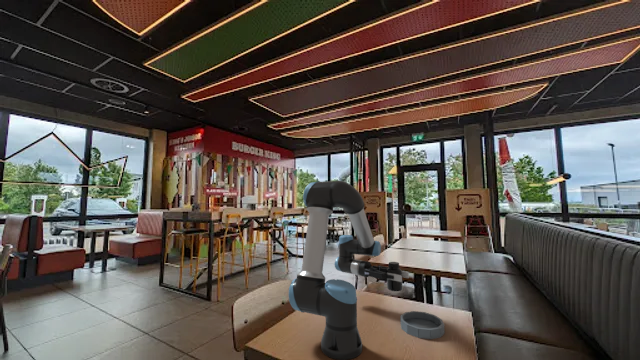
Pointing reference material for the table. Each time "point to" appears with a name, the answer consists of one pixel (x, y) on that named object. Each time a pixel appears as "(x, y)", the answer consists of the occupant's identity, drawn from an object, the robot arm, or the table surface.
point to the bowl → (422, 325)
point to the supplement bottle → (393, 284)
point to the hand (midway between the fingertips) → (404, 276)
